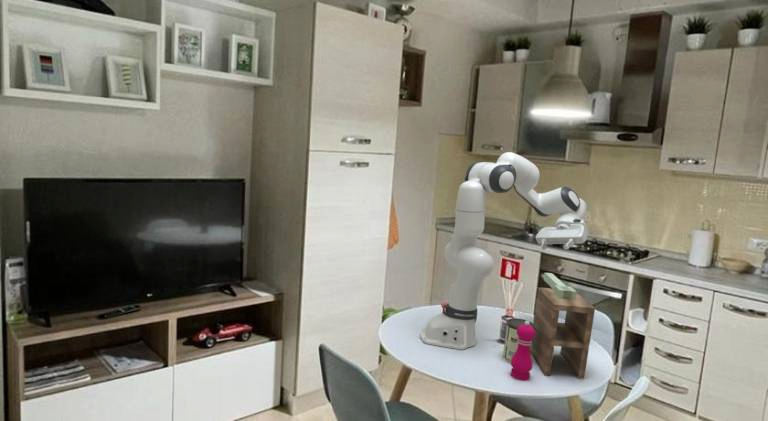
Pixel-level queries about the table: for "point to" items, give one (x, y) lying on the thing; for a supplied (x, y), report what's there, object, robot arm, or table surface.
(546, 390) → the table surface
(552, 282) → the green bar
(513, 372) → the pepper mill
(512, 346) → the coffee can
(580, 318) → the walnut shelf
